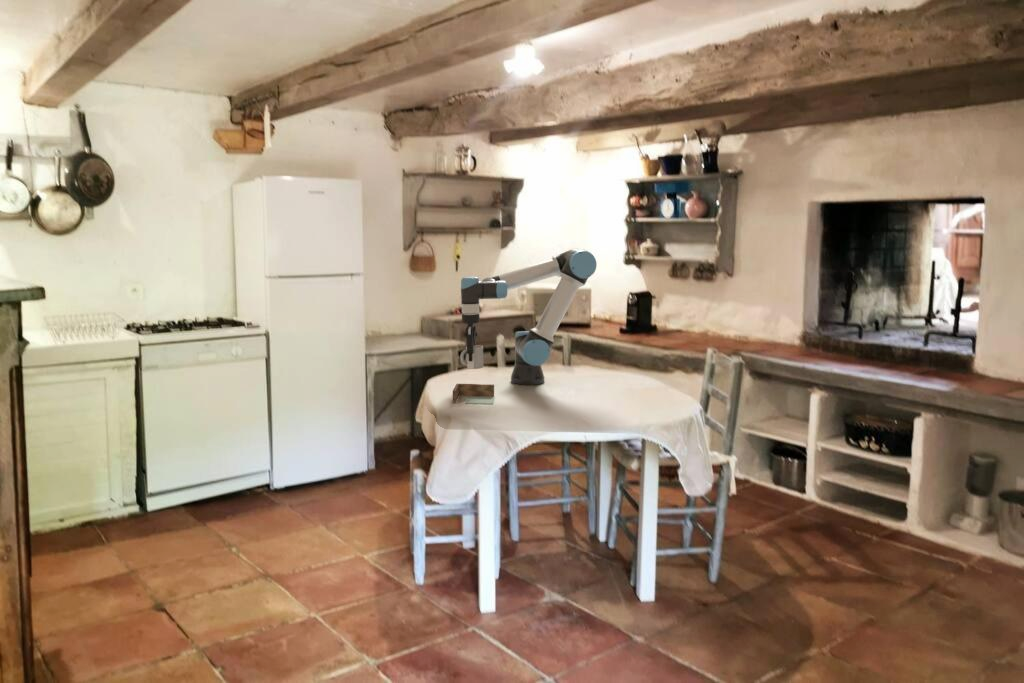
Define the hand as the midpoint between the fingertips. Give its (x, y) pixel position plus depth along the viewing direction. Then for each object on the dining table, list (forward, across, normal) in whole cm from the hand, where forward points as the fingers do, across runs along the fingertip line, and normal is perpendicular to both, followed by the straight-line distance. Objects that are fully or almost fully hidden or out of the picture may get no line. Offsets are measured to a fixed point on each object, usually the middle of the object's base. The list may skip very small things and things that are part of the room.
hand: (471, 366), depth 339 cm
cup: (0, +1, 0) cm, 1 cm away
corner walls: (+10, +18, +2) cm, 21 cm away
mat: (+10, +20, +5) cm, 23 cm away
